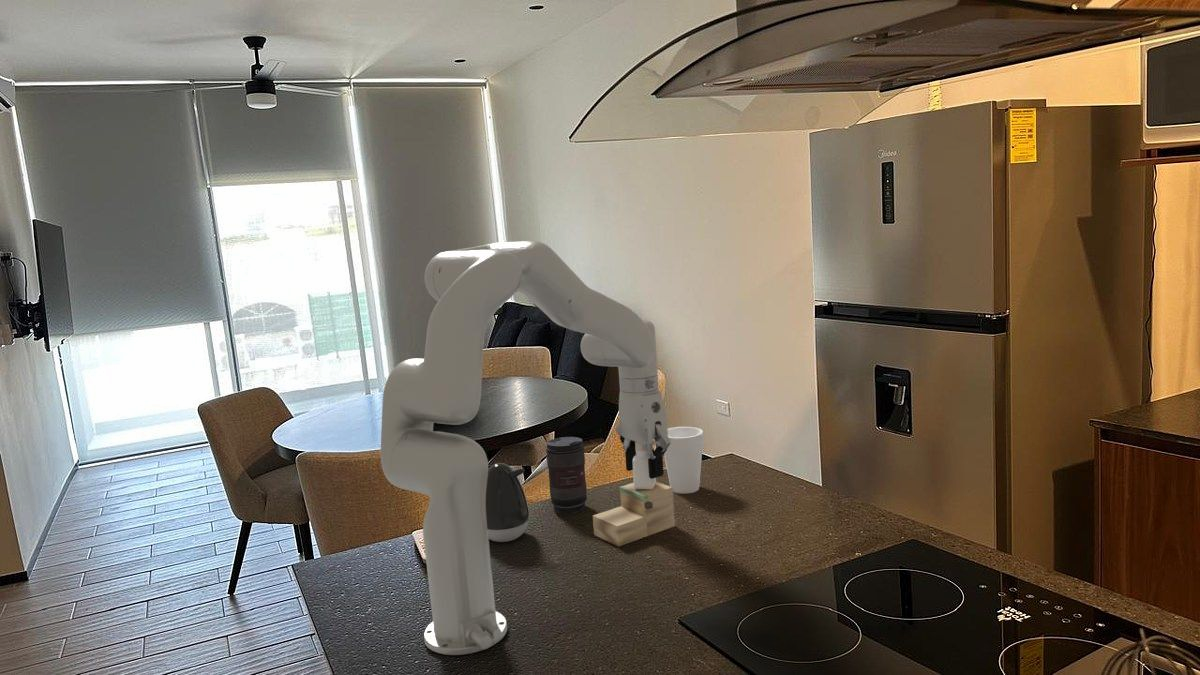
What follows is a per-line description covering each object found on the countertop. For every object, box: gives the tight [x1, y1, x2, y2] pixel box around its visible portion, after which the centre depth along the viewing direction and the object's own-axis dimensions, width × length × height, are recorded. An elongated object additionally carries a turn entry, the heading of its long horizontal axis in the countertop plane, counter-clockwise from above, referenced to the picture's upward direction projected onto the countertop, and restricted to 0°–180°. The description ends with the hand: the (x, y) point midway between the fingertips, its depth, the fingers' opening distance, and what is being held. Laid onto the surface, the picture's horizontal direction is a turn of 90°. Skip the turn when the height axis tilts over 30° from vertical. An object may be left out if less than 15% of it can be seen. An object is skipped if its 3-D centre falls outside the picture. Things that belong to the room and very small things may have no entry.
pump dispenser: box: [486, 462, 531, 543], centre depth 165 cm, size 10×10×15 cm
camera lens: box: [545, 436, 588, 515], centre depth 178 cm, size 8×8×15 cm
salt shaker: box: [632, 442, 657, 490], centre depth 164 cm, size 4×4×10 cm
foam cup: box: [663, 426, 705, 495], centre depth 185 cm, size 10×9×13 cm
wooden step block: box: [592, 481, 676, 547], centre depth 163 cm, size 9×14×8 cm, turn 126°
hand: (644, 472), depth 165 cm, fingers open, 6 cm apart
